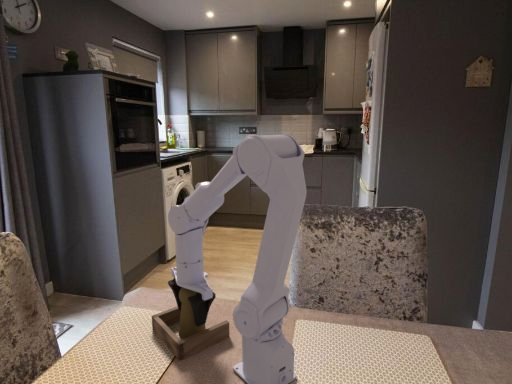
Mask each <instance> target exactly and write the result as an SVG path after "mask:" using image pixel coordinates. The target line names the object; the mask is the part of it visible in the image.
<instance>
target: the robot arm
mask: <svg viewBox="0 0 512 384" xmlns="http://www.w3.org/2000/svg"><path fill="white" fill-rule="evenodd" d="M304 159H305V151H304V150H303V148H302V146H301V145H300V143H299V142H298V141H297V139H296V138H295V137H294V136H292V135H291V134H288V133H279V134H266V135H265V134H263V135H258V134H249V135H246V136H245V137H244V138H242V139H241V141H240V143H239V144H237V145H236V146H234V147H233V149H232V155H231V157H230V158H229V159H228V160H227V161H226V163H225V164H224V165H223V166H222V167H221V169H220V170H219V171H218V172H217V174H216V175H215V176H214V177H213V178H212V179H211V181H202V182H197V184H195V186H194V187H195V189H194V190H193V192H192V193H190V195H188V196H186V197H185V198H184V201H183V202H182V203H181V204H179V205H178V204H176V205H172V206H171V208H170V209H169V211H168V213H167V222H168V225H169V227H170V229H171V230H172V232H173V233H174V242H175V243H174V246H175V266H174V267H171V271H170V272H171V276H172V277H173V279H171V280H170V279H169V280H168V281H167V284H168V286H169V287H170V289H171V291H172V293H173V295H174V298H175V301H176V307H177V306H178V309H179V310H180V311H181V305H182V302H181V301H180V299H179V291H180V289H181V288H182V287H183V288H186V289H189V290H192V291H196V295H194V296H191V297H188V301H189V302H190V304H191V306H192V309H193V314H194V321H195V324H196V326H197V327H198V326H201V325H203V324H205V325H206V323H207V320H208V319H207V318H208V314H209V310H210V309H211V305H212V304H213V303H214V300H215V299H216V293H215V292H214V291H213V288H212V287H211V286H210V285H209V282H208V280H207V279H208V277H209V274H208V273H207V272H206V271H204V268H205V267H204V239H203V238H204V235H205V234H206V227H207V225H208V224H209V219H210V217H211V216H212V215H213V214H214V213H215V212H216V211H217V210H219V208H221V207H222V206H223V204H224V203H225V194H227V192H229V191H230V190H232V188H234V187H235V186H236V185H237V184H239V183H240V182H241V181H242V180H243V179H244V178H246V177H249V178H250V180H251V181H253V183H254V184H255V185H256V186H257V187H259V188H260V190H262V192H264V193H265V194H266V195H267V196H268V198H269V204H268V208H267V212H266V218H265V220H264V225H263V231H262V235H261V238H260V239H261V241H260V244H259V249H258V253H257V259H256V263H255V267H254V272H253V276H252V281H251V282H250V284H249V285H248V286H247V287H246V289H245V290H244V292H243V293H242V295H241V297H240V300H239V303H238V305H237V306H235V307H234V310H233V311H232V312H233V313H232V319H233V324H234V327H235V329H236V330H237V331H238V333H239V334H240V335H241V337H242V339H241V341H242V342H241V343H242V344H241V346H242V349H241V351H242V352H241V354H242V356H241V357H242V358H241V359H242V361H239V362H238V363H236V364H234V365H233V366H232V370H233V371H234V372H235V373H236V374H237V375H238V376H239V377H240V378H241V379H242V380H244V382H246V383H247V384H290V383H291V382H293V381H295V380H296V379H297V374H296V373H295V372H294V370H295V348H294V346H293V345H292V343H290V341H289V340H288V339H287V338H286V337H285V335H284V333H283V330H282V329H283V327H282V326H283V324H284V318H285V317H286V316H287V315H288V314H289V312H290V308H291V307H290V299H289V293H290V290H291V289H290V287H289V286H288V285H287V284H286V283H285V280H286V276H287V273H288V268H289V267H290V266H289V264H290V261H291V256H292V254H293V249H294V246H295V241H296V237H297V233H298V230H299V226H300V223H301V218H302V216H303V215H302V214H303V212H304V207H305V203H306V199H307V185H306V178H305V173H304V172H305V171H304V166H303V163H304V162H303V161H304Z"/></svg>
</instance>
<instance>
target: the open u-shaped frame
mask: <svg viewBox="0 0 512 384" xmlns="http://www.w3.org/2000/svg"><path fill="white" fill-rule="evenodd" d="M180 315H181V311H180V310H179V309H178V306H177V305H176V306H175V307H172V308H169V309H167V310H164V311H161V312H158V313H155V314H152V315H151V325H152V331H153V332H154V333H155V335H156V336H157V337H158V338H159V339H160V340H161V341H162V342H163V344H164V345H165V346H166V347H167V348H168V349H169V351H171V352H172V354H173V356H175V358H177V360H179V361H182V360H184V359H186V358H189V357H190V356H193V355H194V354H196V353H198V352H201V351H202V350H205V349H206V348H209V347H211V346H213V345H215V344H217V343H219V342H221V341H224V340H226V339H227V338H230V322H229V320H227V319H226V320H223V321H222V322H219V323H217V324H215V325H212V326H211V327H207V328H206V329H205V330H203V331H201V332H199V333H196V334H194V335H192V336H190V337H187V338H185V339H181V338H180V337H179V336H177V334H176V333H175V332H174V331H173V330H172V329H171V328H170V326H173V325H176V324H177V323H180Z"/></svg>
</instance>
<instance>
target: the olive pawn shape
mask: <svg viewBox="0 0 512 384" xmlns="http://www.w3.org/2000/svg"><path fill="white" fill-rule="evenodd" d="M194 295H196V291H192V290H189V289H186V288H183V287H182V288H181V289H180V291H179V299H180V301H181V302H182V305H181V315H180V322H179V326H178V338H179V339H180V340H183V339H185V338H187V337H190V336H192V335H194V334H196V333H199V332H201V331H203V330H205V329H207V327H206V323H205V324H203V325H201V326H198V327H197V326H196V324H195V321H194V314H193V309H192V306H191V304H190V302H189V301H188V297H191V296H194Z"/></svg>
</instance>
